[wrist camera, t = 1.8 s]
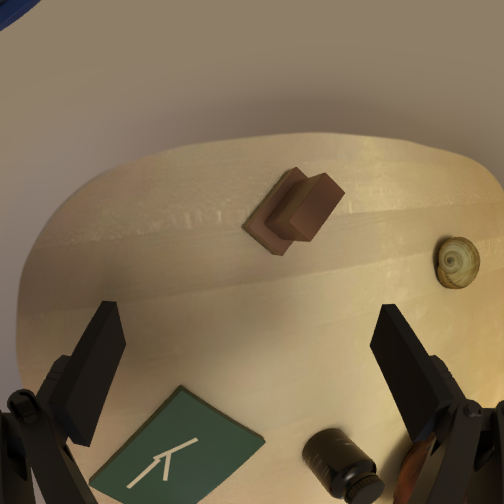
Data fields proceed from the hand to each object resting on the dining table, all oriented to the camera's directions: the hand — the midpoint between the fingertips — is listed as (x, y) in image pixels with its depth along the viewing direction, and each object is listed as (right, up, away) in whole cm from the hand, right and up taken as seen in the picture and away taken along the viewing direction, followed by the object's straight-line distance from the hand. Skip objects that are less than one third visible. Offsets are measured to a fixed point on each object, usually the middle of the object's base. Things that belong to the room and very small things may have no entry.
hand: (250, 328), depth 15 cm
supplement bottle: (+10, -23, +23) cm, 34 cm away
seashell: (+30, +2, +28) cm, 41 cm away
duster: (+3, +8, +19) cm, 21 cm away
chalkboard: (-10, -22, +17) cm, 30 cm away
